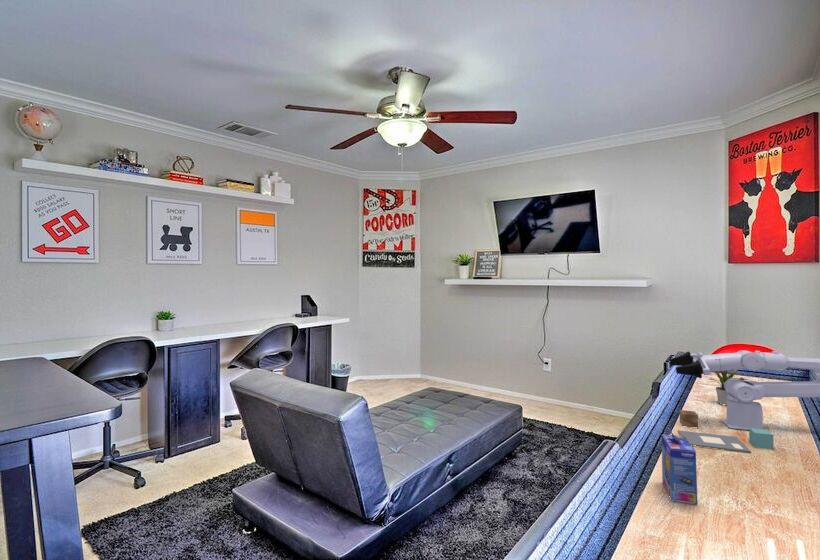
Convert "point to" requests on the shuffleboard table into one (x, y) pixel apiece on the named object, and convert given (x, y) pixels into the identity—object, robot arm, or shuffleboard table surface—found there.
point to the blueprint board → (715, 441)
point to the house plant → (721, 390)
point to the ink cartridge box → (679, 468)
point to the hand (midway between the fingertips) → (672, 366)
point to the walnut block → (688, 418)
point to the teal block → (761, 438)
